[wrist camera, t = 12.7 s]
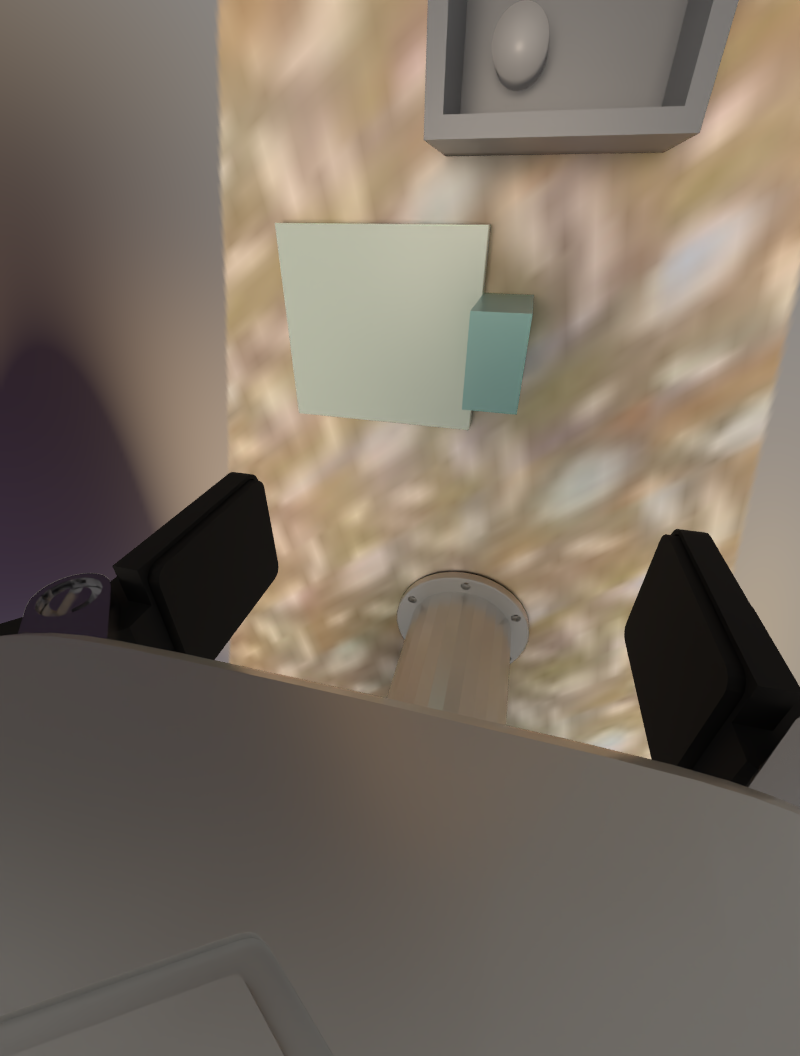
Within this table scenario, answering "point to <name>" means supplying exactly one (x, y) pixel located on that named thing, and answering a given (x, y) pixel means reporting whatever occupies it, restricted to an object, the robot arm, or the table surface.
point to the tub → (570, 74)
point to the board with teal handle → (400, 323)
